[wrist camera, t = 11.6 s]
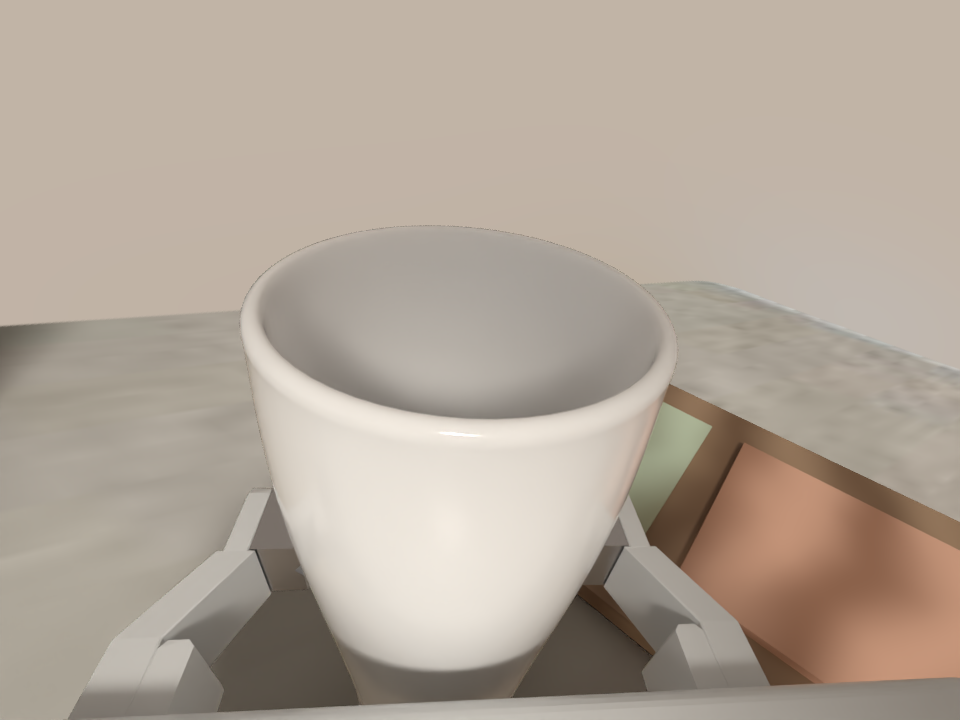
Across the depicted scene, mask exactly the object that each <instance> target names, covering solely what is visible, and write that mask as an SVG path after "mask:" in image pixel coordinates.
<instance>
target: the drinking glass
mask: <svg viewBox="0 0 960 720" xmlns="http://www.w3.org/2000/svg"><path fill="white" fill-rule="evenodd" d="M239 327H240V337H241V341H242V345H243V349H244V354H245V359H246V364H247V370H248V376H249V381H250V387H251V392H252V397H253V403H254V408H255V413H256V418H257V423H258V427H259V432H260V437H261V441H262V445H263V449H264V454H265V458H266V462H267V465H268V469H269V473H270V477H271V481H272V484H273V487H274V491H275V494H276V498H277V501H278V504H279V508H280V511H281V515H282V518H283V521H284V524H285V527H286V530H287V533H288V536H289V538H290V541H291V544H292V546H293V549H294V551H295V554H296V557H297V559H298V561H299V564H300V566H301V568H302V571H303V573H304V575H305V577H306V580H307V582H308V584H309V586H310V589H311V591H312V593H313V595H314V598H315V600H316V602H317V604H318V606H319V609H320V611H321V613H322V615H323V617H324V620H325V622H326V624H327V626H328V628H329V630H330V633H331V635H332V637H333V639H334V641H335V644H336V646H337V648H338V650H339V652H340V655H341V657H342V659H343V662H344V664H345V666H346V668H347V671H348V673H349V675H350V678H351V680H352V682H353V685H354V687H355V690H356V692H357V697H358V702H359V705H378V704H399V703H420V702H441V701H462V700H483V699H504V698H512V697H513V695H514V693H515V692H516V690H517V688H518V687H519V685H520V683H521V682H522V680H523V679H524V677H525V675H526V674H527V672H528V670H529V669H530V667H531V666H532V664H533V663H534V661H535V659H536V658H537V656H538V655H539V653H540V651H541V650H542V648H543V647H544V645H545V644H546V642H547V641H548V639H549V637H550V636H551V634H552V633H553V631H554V630H555V628H556V627H557V625H558V623H559V622H560V620H561V619H562V617H563V616H564V614H565V612H566V611H567V609H568V608H569V606H570V605H571V603H572V602H573V600H574V598H575V597H576V595H577V594H578V592H579V590H580V589H581V587H582V585H583V584H584V582H585V580H586V579H587V577H588V575H589V574H590V572H591V570H592V568H593V566H594V565H595V563H596V561H597V559H598V557H599V555H600V553H601V551H602V550H603V548H604V546H605V544H606V542H607V540H608V538H609V536H610V534H611V532H612V530H613V528H614V526H615V524H616V521H617V519H618V517H619V515H620V513H621V511H622V508H623V506H624V504H625V502H626V499H627V497H628V495H629V492H630V490H631V488H632V485H633V483H634V480H635V478H636V475H637V473H638V470H639V468H640V465H641V462H642V460H643V457H644V454H645V452H646V449H647V446H648V444H649V441H650V438H651V435H652V432H653V429H654V427H655V424H656V421H657V418H658V415H659V412H660V409H661V406H662V403H663V400H664V397H665V395H666V392H667V389H668V387H669V384H670V382H671V380H672V377H673V374H674V371H675V368H676V365H677V358H678V342H677V336H676V333H675V330H674V326H673V324H672V322H671V320H670V318H669V316H668V315H667V313H666V312H665V310H664V309H663V308H662V306H661V305H660V304H659V303H658V301H657V300H656V299H655V298H654V297H653V296H652V295H651V294H650V293H649V292H648V291H647V290H646V289H644V288H643V287H642V286H641V285H639V284H638V283H637V282H635V281H634V280H633V279H631V278H630V277H628V276H627V275H625V274H624V273H622V272H621V271H619V270H617V269H615V268H614V267H612V266H610V265H608V264H606V263H604V262H602V261H600V260H598V259H596V258H593V257H591V256H589V255H586V254H584V253H581V252H579V251H576V250H573V249H570V248H568V247H565V246H562V245H558V244H555V243H552V242H548V241H545V240H541V239H537V238H533V237H529V236H524V235H519V234H514V233H509V232H503V231H497V230H489V229H482V228H471V227H459V226H401V227H390V228H380V229H372V230H366V231H360V232H355V233H350V234H346V235H341V236H337V237H334V238H330V239H327V240H324V241H321V242H317V243H315V244H312V245H310V246H307V247H305V248H303V249H300V250H298V251H296V252H294V253H292V254H290V255H288V256H287V257H285V258H283V259H281V260H280V261H278V262H277V263H276V264H274V265H273V266H271V267H270V268H269V269H268V270H267V271H265V272H264V273H263V274H262V275H261V276H260V277H259V278H258V279H257V281H256V282H255V283H254V284H253V285H252V287H251V288H250V290H249V292H248V293H247V295H246V297H245V299H244V302H243V305H242V308H241V313H240V320H239Z"/></svg>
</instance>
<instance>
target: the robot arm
mask: <svg viewBox="0 0 960 720" xmlns="http://www.w3.org/2000/svg"><path fill="white" fill-rule="evenodd" d="M583 585H604V588H605V589H606V590H607V591H608V593H609V594H610V595H611V596H612V598H613V599H614V600H615V602H616V603H617V604H618V605H619V607H620V608H621V609H622V610H623V612H624V613H625V614H626V615H627V617H628V618H629V619H630V620H631V622H632V623H633V624H634V625H635V627H636V628H637V629H638V630H639V632H640V633H641V634H642V636H643V637H644V638H645V639H646V641H647V642H648V643H649V644H650V646H651V647H652V648H653V649H654V651H655V652H656V653H655V654H654V655H653V657H652V658H651V659H650V660H649V662H648V663H647V664H646V666H645V667H644V669H643V670H642V675H643V678H644V681H645V685H646V688H647V691H648V692H629V693H608V694H587V695H566V696H545V697H524V698H504V699H483V700H462V701H441V702H420V703H399V704H378V705H357V706H336V707H315V708H295V709H274V710H253V711H232V712H218V708H219V705H220V702H221V699H222V696H223V693H224V688H223V686H222V684H221V683H220V681H219V680H218V678H217V677H216V676H215V674H214V673H213V671H212V670H211V669H210V666H211V665H212V663H213V662H214V661H215V660H216V659H217V657H218V656H219V655H220V654H221V653H222V652H223V650H224V649H225V648H226V647H227V646H228V644H229V643H230V642H231V641H232V640H233V639H234V637H235V636H236V635H237V634H238V633H239V631H240V630H241V629H242V628H243V627H244V626H245V624H246V623H247V622H248V621H249V620H250V618H251V617H252V616H253V615H254V614H255V613H256V611H257V610H258V609H259V608H260V607H261V605H262V604H263V603H264V602H265V601H266V600H267V598H268V597H269V596H270V595H271V592H273V591H294V590H308V587H309V584H308V582H307V580H306V577H305V575H304V573H303V571H302V568H301V566H300V564H299V561H298V559H297V557H296V554H295V551H294V549H293V546H292V544H291V541H290V538H289V536H288V533H287V530H286V527H285V524H284V521H283V518H282V515H281V511H280V508H279V504H278V501H277V498H276V494H275V491H274V488H253V489H252V490H251V491H250V492H249V494H248V495H247V497H246V500H245V502H244V504H243V507H242V509H241V511H240V513H239V516H238V518H237V520H236V522H235V525H234V527H233V529H232V531H231V534H230V536H229V538H228V541H227V543H226V545H225V547H224V550H223V551H216V552H214V553H213V554H212V555H211V556H210V557H209V558H207V559H206V560H205V561H204V562H203V563H202V564H200V565H199V566H198V567H197V568H196V569H195V570H193V571H192V572H191V573H190V574H189V575H187V576H186V577H185V578H184V579H183V580H182V581H180V582H179V583H178V584H177V585H176V586H175V587H173V588H172V589H171V590H170V591H169V592H167V593H166V594H165V595H164V596H163V597H162V598H160V599H159V600H158V601H157V602H156V603H155V604H153V605H152V606H151V607H150V608H149V609H148V610H146V611H145V612H144V613H143V614H142V615H140V616H139V617H138V618H137V619H136V620H135V621H133V622H132V623H131V624H130V625H129V626H128V627H126V628H125V629H124V630H123V631H122V632H121V633H119V634H118V635H117V636H116V637H115V638H113V639H112V641H111V643H110V645H109V646H108V648H107V650H106V652H105V653H104V655H103V657H102V659H101V661H100V662H99V664H98V666H97V668H96V669H95V671H94V673H93V675H92V677H91V678H90V680H89V682H88V684H87V685H86V687H85V689H84V691H83V693H82V694H81V696H80V698H79V700H78V701H77V703H76V705H75V707H74V709H73V710H72V712H71V714H70V716H69V717H68V719H65V720H960V678H956V677H944V678H922V679H901V680H880V681H859V682H839V683H818V684H797V685H776V686H770V684H769V682H768V680H767V678H766V676H765V674H764V672H763V670H762V668H761V666H760V664H759V662H758V660H757V658H756V656H755V654H754V652H753V650H752V648H751V646H750V644H749V642H748V640H747V638H746V636H745V635H744V633H743V631H742V629H741V627H740V625H739V623H738V621H737V620H736V619H735V618H734V617H733V616H731V615H730V614H729V613H728V612H727V611H726V610H725V609H724V608H723V607H722V606H720V605H719V604H718V603H717V602H716V601H715V600H714V599H713V598H712V597H711V596H710V595H708V594H707V593H706V592H705V591H704V590H703V589H702V588H701V587H700V586H699V585H697V584H696V583H695V582H694V581H693V580H692V579H691V578H690V577H689V576H688V575H687V574H685V573H684V572H683V571H682V570H681V569H680V568H679V567H678V566H677V565H676V564H674V563H673V562H672V561H671V560H670V559H669V558H668V557H667V556H666V555H665V554H664V553H662V552H661V551H660V550H659V549H658V548H657V547H656V546H650V544H649V542H648V540H647V537H646V535H645V532H644V530H643V528H642V525H641V523H640V520H639V518H638V516H637V513H636V511H635V508H634V506H633V504H632V501H631V499H630V496H629V495H628V497H627V499H626V502H625V504H624V506H623V508H622V511H621V513H620V515H619V517H618V519H617V521H616V524H615V526H614V528H613V530H612V532H611V534H610V536H609V538H608V540H607V542H606V544H605V546H604V548H603V550H602V551H601V553H600V555H599V557H598V559H597V561H596V563H595V565H594V566H593V568H592V570H591V572H590V574H589V575H588V577H587V579H586V580H585V582H584V584H583Z"/></svg>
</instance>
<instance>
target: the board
mask: <svg viewBox="0 0 960 720" xmlns="http://www.w3.org/2000/svg"><path fill="white" fill-rule="evenodd" d="M629 496H630V499H631V501H632V504H633V506H634V508H635V511H636V513H637V516H638V518H639V520H640V523H641V525H642V528H643V530H644V532H645V535H646V537H647V540H648V542H649V544H650V546H656V547H657V548H658V549H659V550H660V551H661V552H662V553H664V554H665V555H666V556H667V557H668V558H669V559H670V560H671V561H672V562H673V563H674V564H676V565H677V566H678V567H679V568H680V569H681V570H682V571H683V572H684V573H685V574H687V575H688V576H689V577H690V578H691V579H692V580H693V581H694V582H695V583H696V584H697V585H699V586H700V587H701V588H702V589H703V590H704V591H705V592H706V593H707V594H708V595H710V596H711V597H712V598H713V599H714V600H715V601H716V602H717V603H718V604H719V605H720V606H722V607H723V608H724V609H725V610H726V611H727V612H728V613H729V614H730V615H731V616H733V617H734V618H735V619H736V620H737V621H738V623H739V625H740V627H741V629H742V631H743V633H744V635H745V636H746V638H747V640H748V642H749V644H750V646H751V648H752V650H753V652H754V654H755V656H756V658H757V660H758V662H759V664H760V666H761V668H762V670H763V672H764V674H765V676H766V678H767V680H768V682H769V684H770V686H776V685H797V684H818V683H839V682H859V681H880V680H901V679H922V678H944V677H956V678H960V522H958V521H956V520H954V519H952V518H950V517H948V516H946V515H944V514H942V513H940V512H937V511H935V510H933V509H931V508H929V507H927V506H925V505H923V504H921V503H918V502H916V501H914V500H912V499H910V498H908V497H906V496H904V495H902V494H900V493H897V492H895V491H893V490H891V489H889V488H887V487H885V486H883V485H881V484H879V483H876V482H874V481H872V480H870V479H868V478H866V477H864V476H862V475H860V474H858V473H855V472H853V471H851V470H849V469H847V468H845V467H843V466H841V465H839V464H837V463H834V462H832V461H830V460H828V459H826V458H824V457H822V456H820V455H818V454H816V453H813V452H811V451H809V450H807V449H805V448H803V447H801V446H799V445H797V444H795V443H792V442H790V441H788V440H786V439H784V438H782V437H780V436H778V435H776V434H774V433H771V432H769V431H767V430H765V429H763V428H761V427H759V426H757V425H755V424H753V423H750V422H748V421H746V420H744V419H742V418H740V417H738V416H736V415H734V414H731V413H729V412H727V411H725V410H723V409H721V408H719V407H717V406H715V405H713V404H710V403H708V402H706V401H704V400H702V399H700V398H698V397H696V396H694V395H692V394H689V393H687V392H685V391H683V390H681V389H679V388H677V387H675V386H673V385H671V384H669V387H668V389H667V392H666V395H665V397H664V400H663V403H662V406H661V409H660V412H659V415H658V418H657V421H656V424H655V427H654V429H653V432H652V435H651V438H650V441H649V444H648V446H647V449H646V452H645V454H644V457H643V460H642V462H641V465H640V468H639V470H638V473H637V475H636V478H635V480H634V483H633V485H632V488H631V490H630V492H629ZM578 595H579V596H580V597H581V598H583V599H584V600H585V601H586V602H588V603H589V604H590V605H591V606H592V607H594V608H595V609H596V610H597V611H599V612H600V613H601V614H602V615H603V616H605V617H606V618H607V619H608V620H610V621H611V622H612V623H613V624H614V625H616V626H617V627H618V628H619V629H621V630H622V631H623V632H624V633H626V634H627V635H628V636H629V637H630V638H632V639H633V640H634V641H635V642H637V643H638V644H639V645H640V646H641V647H643V648H644V649H645V650H646V651H648V652H649V653H650V654H651V655H652V656H653V655H654V654H655V653H656V652H655V651H654V649H653V648H652V647H651V646H650V644H649V643H648V642H647V641H646V639H645V638H644V637H643V636H642V634H641V633H640V632H639V630H638V629H637V628H636V627H635V625H634V624H633V623H632V622H631V620H630V619H629V618H628V617H627V615H626V614H625V613H624V612H623V610H622V609H621V608H620V607H619V605H618V604H617V603H616V602H615V600H614V599H613V598H612V596H611V595H610V594H609V593H608V591H607V590H606V589H605V588H604V585H582V587H581V589H580V590H579V592H578Z"/></svg>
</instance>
